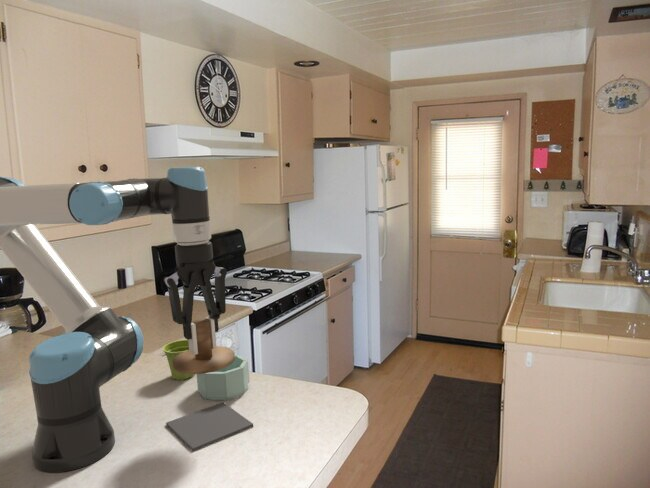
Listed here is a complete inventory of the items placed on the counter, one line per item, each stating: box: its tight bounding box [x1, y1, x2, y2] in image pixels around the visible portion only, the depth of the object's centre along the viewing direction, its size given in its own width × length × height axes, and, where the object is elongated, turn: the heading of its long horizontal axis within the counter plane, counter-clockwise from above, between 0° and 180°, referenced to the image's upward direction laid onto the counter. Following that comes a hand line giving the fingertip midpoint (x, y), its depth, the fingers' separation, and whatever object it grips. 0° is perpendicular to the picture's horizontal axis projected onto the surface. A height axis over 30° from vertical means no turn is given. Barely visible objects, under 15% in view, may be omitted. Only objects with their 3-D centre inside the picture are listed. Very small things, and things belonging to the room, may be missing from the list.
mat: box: [165, 401, 254, 452], centre depth 112 cm, size 14×14×1 cm
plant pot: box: [162, 339, 196, 381], centre depth 139 cm, size 9×9×9 cm
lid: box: [172, 318, 236, 375], centre depth 109 cm, size 13×13×9 cm
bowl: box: [196, 354, 250, 402], centre depth 129 cm, size 12×12×7 cm
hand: (203, 349), depth 109 cm, fingers closed on lid, 4 cm apart
